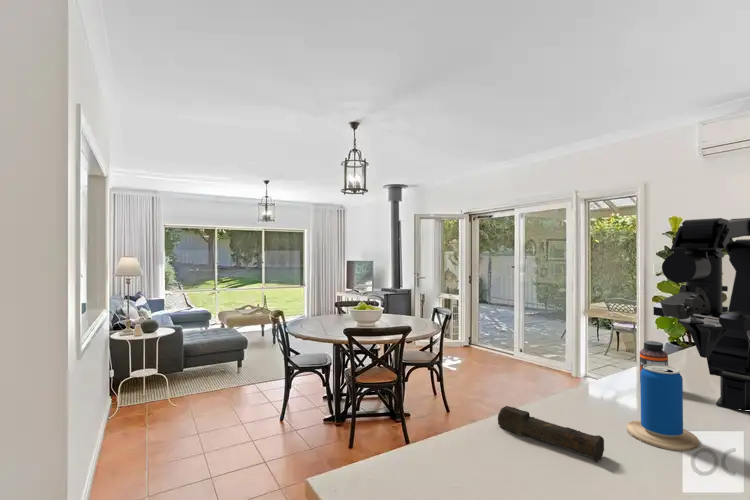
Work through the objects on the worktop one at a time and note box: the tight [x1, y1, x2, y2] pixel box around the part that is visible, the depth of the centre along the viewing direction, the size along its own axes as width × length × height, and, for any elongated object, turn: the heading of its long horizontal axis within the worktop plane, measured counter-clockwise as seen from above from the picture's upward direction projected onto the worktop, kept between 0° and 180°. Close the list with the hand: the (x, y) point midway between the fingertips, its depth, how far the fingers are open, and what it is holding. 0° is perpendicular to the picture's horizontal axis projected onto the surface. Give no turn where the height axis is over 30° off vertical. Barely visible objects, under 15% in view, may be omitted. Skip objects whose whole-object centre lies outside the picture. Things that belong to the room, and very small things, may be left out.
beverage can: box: [639, 364, 684, 438], centre depth 75 cm, size 6×6×12 cm
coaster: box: [626, 419, 700, 452], centre depth 75 cm, size 11×11×1 cm
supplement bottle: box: [639, 340, 669, 373], centre depth 102 cm, size 6×6×11 cm
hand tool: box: [497, 405, 605, 463], centre depth 74 cm, size 19×4×5 cm, turn 42°
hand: (704, 357), depth 81 cm, fingers closed
